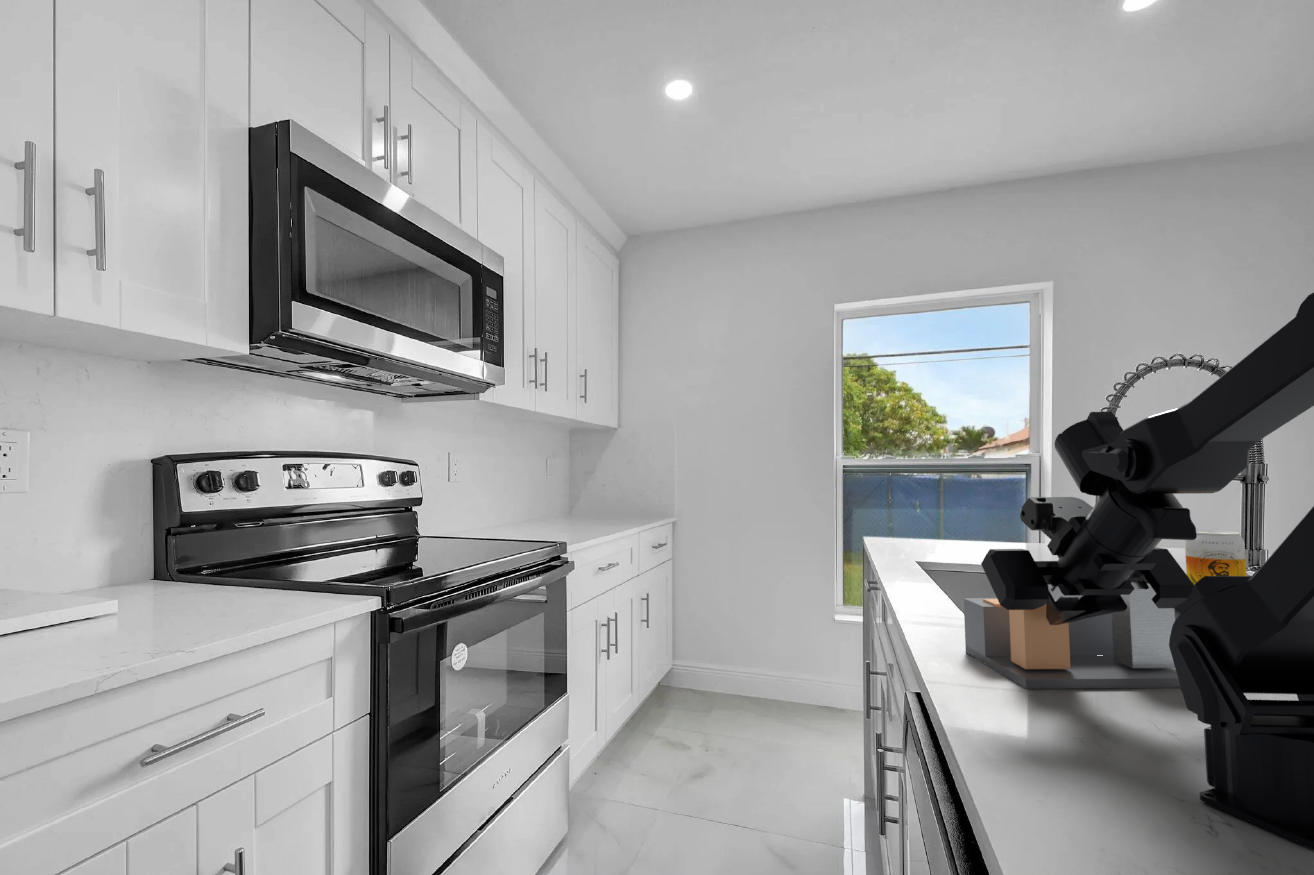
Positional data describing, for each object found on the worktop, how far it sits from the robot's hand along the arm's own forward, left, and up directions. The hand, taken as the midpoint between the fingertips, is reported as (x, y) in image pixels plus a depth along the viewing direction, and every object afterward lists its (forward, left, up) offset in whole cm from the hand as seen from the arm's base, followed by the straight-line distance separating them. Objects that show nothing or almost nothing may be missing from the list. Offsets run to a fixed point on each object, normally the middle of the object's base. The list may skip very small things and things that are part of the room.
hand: (1051, 621), depth 70 cm
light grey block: (-2, -12, -5) cm, 13 cm away
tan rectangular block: (+2, -1, -6) cm, 6 cm away
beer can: (+3, -35, -7) cm, 36 cm away
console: (+3, -7, -7) cm, 10 cm away
